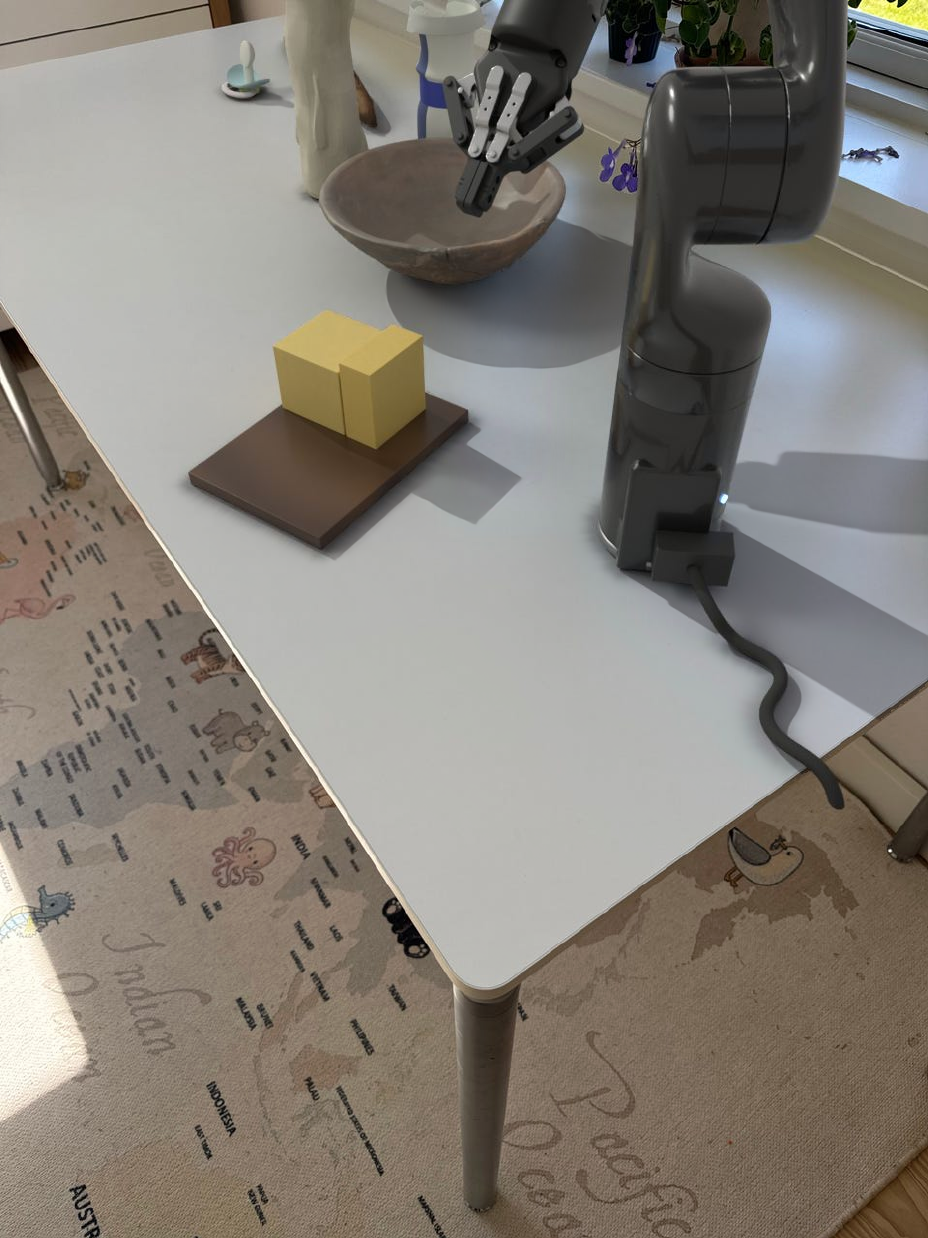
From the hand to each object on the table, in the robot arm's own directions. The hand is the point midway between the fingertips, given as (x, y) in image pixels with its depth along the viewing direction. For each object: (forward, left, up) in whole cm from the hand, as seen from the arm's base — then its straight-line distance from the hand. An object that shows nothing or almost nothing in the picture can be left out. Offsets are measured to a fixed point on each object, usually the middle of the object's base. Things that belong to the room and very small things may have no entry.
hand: (468, 211), depth 81 cm
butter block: (-7, +11, -15) cm, 19 cm away
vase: (+37, +20, -16) cm, 45 cm away
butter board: (-12, +10, -16) cm, 22 cm away
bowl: (+21, +5, -16) cm, 27 cm away
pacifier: (+66, +39, -16) cm, 78 cm away
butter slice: (-9, +6, -15) cm, 18 cm away
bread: (+70, +28, -16) cm, 77 cm away
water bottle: (+39, +7, -16) cm, 43 cm away
